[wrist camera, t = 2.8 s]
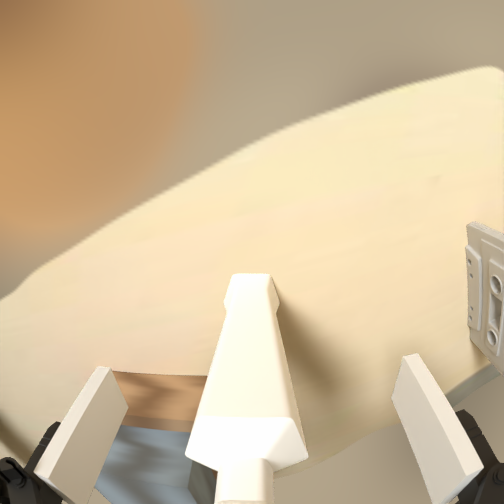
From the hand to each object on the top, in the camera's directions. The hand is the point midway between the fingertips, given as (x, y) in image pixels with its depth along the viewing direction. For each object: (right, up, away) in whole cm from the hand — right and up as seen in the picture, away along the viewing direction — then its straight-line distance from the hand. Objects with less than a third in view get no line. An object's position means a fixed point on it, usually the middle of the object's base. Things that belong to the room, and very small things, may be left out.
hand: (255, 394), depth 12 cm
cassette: (+19, +3, +8) cm, 21 cm away
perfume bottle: (0, +3, +9) cm, 9 cm away
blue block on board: (-8, -10, +13) cm, 18 cm away
